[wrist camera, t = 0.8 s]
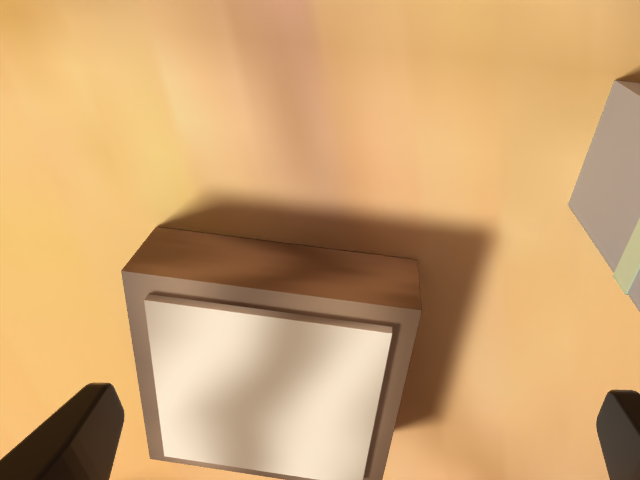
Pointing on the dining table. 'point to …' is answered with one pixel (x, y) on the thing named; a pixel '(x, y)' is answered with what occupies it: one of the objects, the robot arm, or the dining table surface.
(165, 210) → the dining table surface
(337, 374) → the stand
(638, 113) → the grey striped cube
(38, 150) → the dining table surface
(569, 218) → the dining table surface
